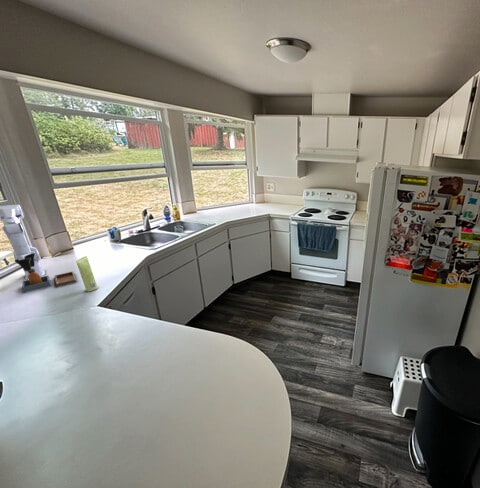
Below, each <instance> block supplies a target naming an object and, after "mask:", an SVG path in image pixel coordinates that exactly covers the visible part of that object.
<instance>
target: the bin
mask: <svg viewBox="0 0 480 488" xmlns="http://www.w3.org/2000/svg"><path fill="white" fill-rule="evenodd" d="M40 278H41V280H42V283H38V284H34V285H31V284H30V281H29V279H25V280H22V283H21V284H22V285H21V289H22V291H23V293H27V292H32V291H37V290H40V289H45V288H48V287H51V286H52V284H51V283H52V282H51V278H50V276H49V275H43V276H40Z"/></svg>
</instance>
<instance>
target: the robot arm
mask: <svg viewBox="0 0 480 488" xmlns="http://www.w3.org/2000/svg"><path fill="white" fill-rule="evenodd" d="M24 218H25V215H24V212H23V210H22V207H21V205H20V204H9V205H0V222H2V224H3V226H2V230H3V233H4V234H5V236H6V238H7V239H8V241H9V243H10V245H11V248H12V250H13V252H12V255H13V258H14V262H15V263H16V264H17V265H19V266H20V267H21V268H22V270H23V272H24V275H25V278H24V279H25V280H29V279H28V277H27V276H28V274H29V273H28V271H30V270H31V269H35V272H37V273H39V275H40V277H44V276H46V275H45V273H46V272H45V269H43V268H42V265H41V263H40V261H41V259H42V258H41V255H40V253H39V251H38V248H37V247H34V246H30V245H29V242H28V240H27V238H26V235H25V230H24V227H23V225H22V223H21V220H24Z"/></svg>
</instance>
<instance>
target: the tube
mask: <svg viewBox="0 0 480 488" xmlns="http://www.w3.org/2000/svg"><path fill="white" fill-rule="evenodd" d="M75 263H76V265H77V266H76V267H77V268H78V270H79V274H80V278H81V280H82V283H83V286H84V288H85V291H86V292H92V291H96V290H97V289H98V285H97V282H96V280H95V276H94V272H93V271H92V267H91V264H90V261H89V258H88V256H87V255H85V256H83V257H81V258H78V259H77V260H75Z"/></svg>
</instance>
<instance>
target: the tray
mask: <svg viewBox="0 0 480 488" xmlns="http://www.w3.org/2000/svg"><path fill="white" fill-rule="evenodd" d="M54 282H55V286H56V287H62V286H65V285H70V284H74V283H77V280H76V276H75V273H74V271H68V272H64V273H60V274H55V275H54Z"/></svg>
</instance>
